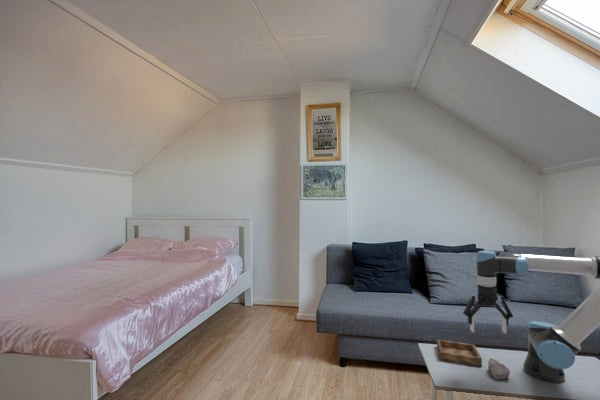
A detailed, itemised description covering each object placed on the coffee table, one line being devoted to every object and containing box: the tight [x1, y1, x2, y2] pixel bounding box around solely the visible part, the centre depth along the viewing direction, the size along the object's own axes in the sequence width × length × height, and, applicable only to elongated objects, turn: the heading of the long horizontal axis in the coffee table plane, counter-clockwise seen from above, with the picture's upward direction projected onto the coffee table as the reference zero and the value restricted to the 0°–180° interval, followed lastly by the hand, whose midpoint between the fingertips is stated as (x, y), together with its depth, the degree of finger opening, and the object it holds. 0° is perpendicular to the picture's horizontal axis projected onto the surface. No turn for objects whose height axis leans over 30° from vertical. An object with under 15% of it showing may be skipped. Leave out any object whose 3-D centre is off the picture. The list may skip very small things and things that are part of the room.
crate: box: [436, 339, 483, 368], centre depth 161 cm, size 18×16×4 cm
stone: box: [487, 358, 511, 380], centre depth 143 cm, size 10×8×6 cm
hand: (488, 331), depth 144 cm, fingers open, 13 cm apart
